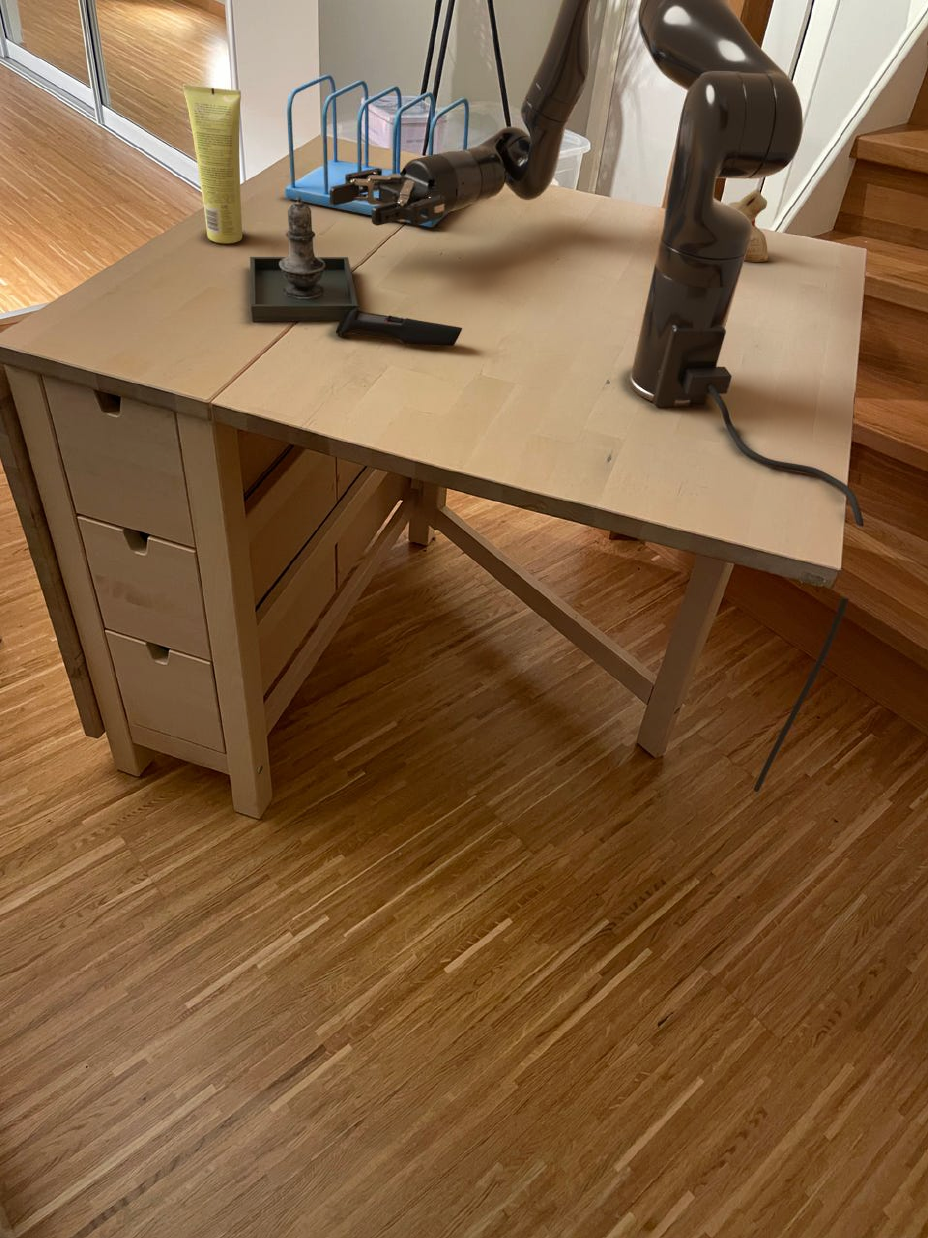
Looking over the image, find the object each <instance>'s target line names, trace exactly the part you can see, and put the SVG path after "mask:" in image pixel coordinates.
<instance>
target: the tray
mask: <svg viewBox="0 0 928 1238" xmlns="http://www.w3.org/2000/svg"><path fill="white" fill-rule="evenodd" d="M285 257H286V256H250V257H249V265H250V266H249V270H250V271H249V276H250V280H249V281H250V312H251V322H340V321H341V319H342V317H343V316H344V314H345V312H346V311H347V309H348V310H350V311H352V310H354V309H356V308H357V309H359V304H358V299H357V295H356V290H355V285H354V280H353V279H354V278H353V274H352V270H351V265H350V259H349V257H348V256H317V257H318V258H320V259H321V260H323V261H324V263H325V268H324V269H323V273H322V276H321V279H320V280H319V281H318V282H317V284H319V285H320V286H321V287H322V288H323V290H324V291H323V294H322V295H321V296H319V297H317V298H313V299H295V298H291V297H289V296H287V295H285V294H284V292H283V288H284V287H285V285H287V284H288V283H289V282H288V281H287V280H286V279H285V277H284V275H283V273H282V269H281V268H280V266H279V262H280V261H281V260H282V259H283V258H285Z"/></svg>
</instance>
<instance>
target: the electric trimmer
mask: <svg viewBox="0 0 928 1238" xmlns="http://www.w3.org/2000/svg"><path fill="white" fill-rule="evenodd" d="M462 331H463V328H462V327H459V326H454V325H448V324H442V323H436V322H430V321H426V320H425V321H424V320H419V319H412V318H407V317H406V318H404V317H397V316H393V315H390V314H389V315H386V314H385V315H383V314H378V313H373V312H372V313H371V312H365V311H362V310H360V309H359V308H358V309H357V308H356V309H354V310H352V311H350V310H348V309H347V311H346V312H345V314H344V316H343V317H342V319H341V321H339V323H338V325H337V327H336V330H335V335H339V336H340V337H341V338H344V337H345V335H347V334H351V335H358V336H364V337H365V336H366V337H373V338H380V339H387V340H388V339H389V340H396V341H399V342H400V343H402V344H404V345H414V346H432V347H433V346H434V347H454V346H455V345H456V343H457V341H458V339H459V337H460V335H461V334H462Z"/></svg>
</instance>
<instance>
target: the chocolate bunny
mask: <svg viewBox="0 0 928 1238" xmlns="http://www.w3.org/2000/svg"><path fill="white" fill-rule="evenodd" d="M728 205H729V206H731V207H733V208H735V209H737V210H739V211H740V212H742V213H743V214H745V215H746V216H747V217H748V218H749V220H750V221H751V223H752V235H751V239H750V242H749V246H748V249H747V252H746V256H745V259H744V262H750V263H763V262H768V261H769V257H770V254H769V251H768V244H767V239H766V236H765V234H764V233H763V232H762V230H760V228H759V227H757V226H756V218H757V216H758V215H759V214H760V213H761V212H762V211H764V210H765V209H766V208H767V205H768V201H767V199H766V198H765V197H763V195H762V193H761V192H760V189H759V188H756V189H754V190H753V191H751V192H750V193H748V194H747V195H745V196H744V197H743V198H742V199H740V200H739V201H734V202H730V203H728Z"/></svg>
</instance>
